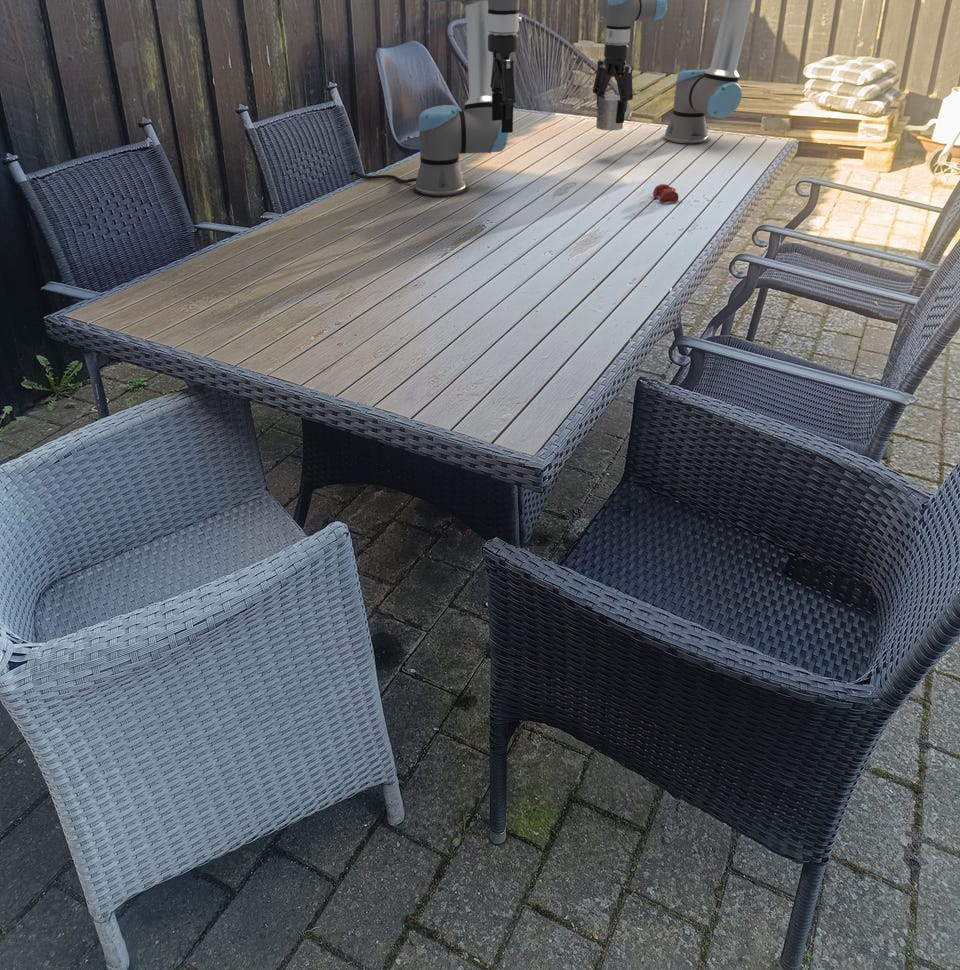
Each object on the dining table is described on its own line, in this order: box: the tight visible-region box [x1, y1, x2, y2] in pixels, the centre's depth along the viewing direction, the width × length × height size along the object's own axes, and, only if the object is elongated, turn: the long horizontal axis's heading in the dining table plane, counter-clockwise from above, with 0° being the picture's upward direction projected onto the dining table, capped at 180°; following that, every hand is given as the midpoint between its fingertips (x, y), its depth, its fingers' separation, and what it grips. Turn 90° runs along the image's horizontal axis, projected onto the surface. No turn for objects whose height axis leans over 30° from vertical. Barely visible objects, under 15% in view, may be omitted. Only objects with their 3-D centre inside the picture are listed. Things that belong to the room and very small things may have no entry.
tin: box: [595, 94, 624, 132], centre depth 276 cm, size 9×9×9 cm
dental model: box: [652, 183, 679, 203], centre depth 249 cm, size 6×4×8 cm
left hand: (502, 126), depth 216 cm, fingers open, 13 cm apart
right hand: (610, 120), depth 277 cm, fingers closed on tin, 9 cm apart
